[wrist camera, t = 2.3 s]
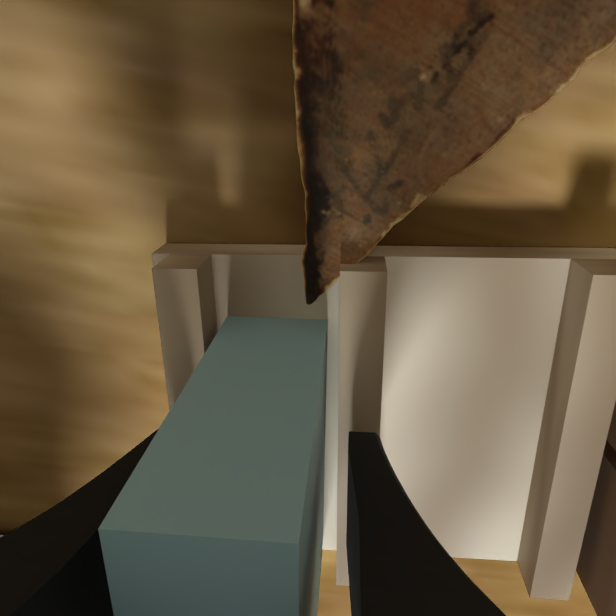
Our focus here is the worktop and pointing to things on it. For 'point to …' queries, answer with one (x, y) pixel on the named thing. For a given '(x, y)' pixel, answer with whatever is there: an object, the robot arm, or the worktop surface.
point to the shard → (417, 102)
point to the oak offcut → (612, 430)
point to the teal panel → (230, 484)
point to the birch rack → (438, 380)
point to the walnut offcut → (601, 540)
